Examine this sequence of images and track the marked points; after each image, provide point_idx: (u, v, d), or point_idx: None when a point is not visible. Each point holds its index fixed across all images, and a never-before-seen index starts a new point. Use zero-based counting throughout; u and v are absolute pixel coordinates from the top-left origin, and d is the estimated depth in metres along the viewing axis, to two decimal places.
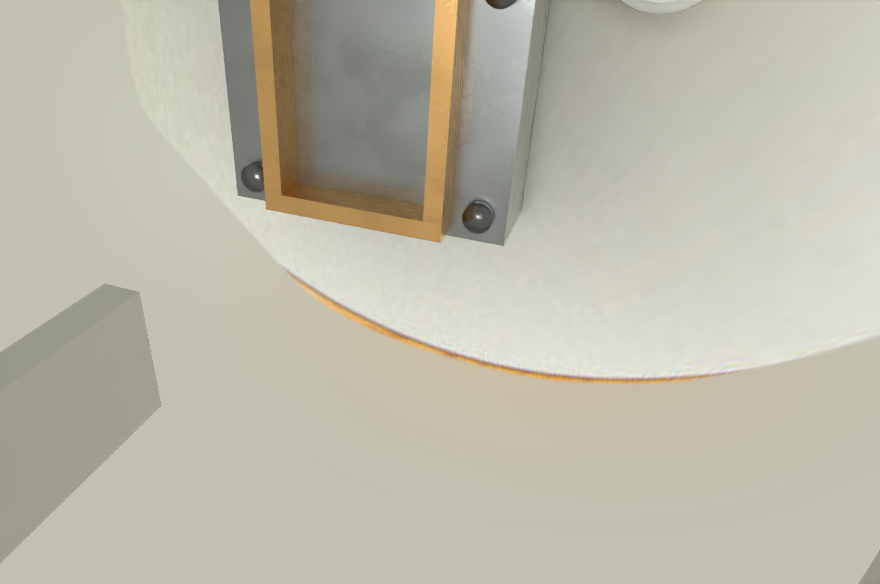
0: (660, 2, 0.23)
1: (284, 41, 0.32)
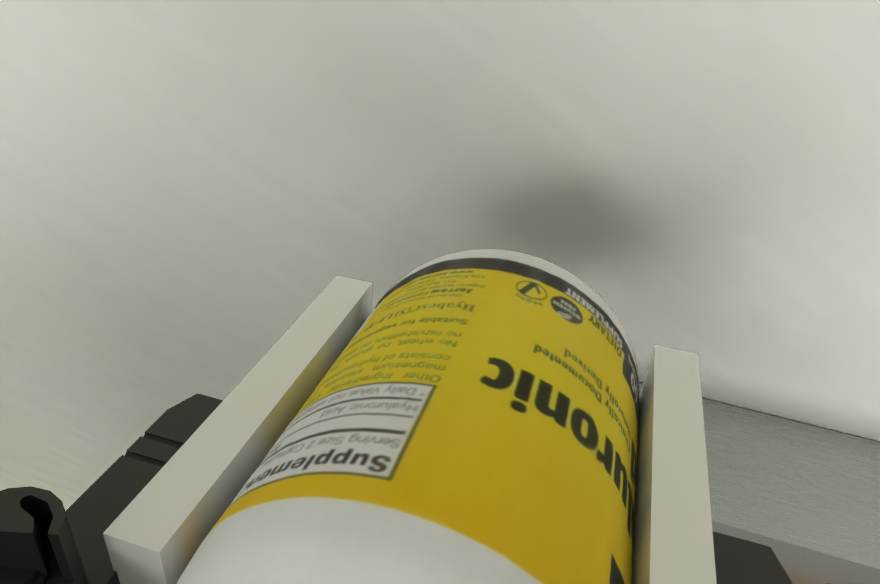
0: None
1: None
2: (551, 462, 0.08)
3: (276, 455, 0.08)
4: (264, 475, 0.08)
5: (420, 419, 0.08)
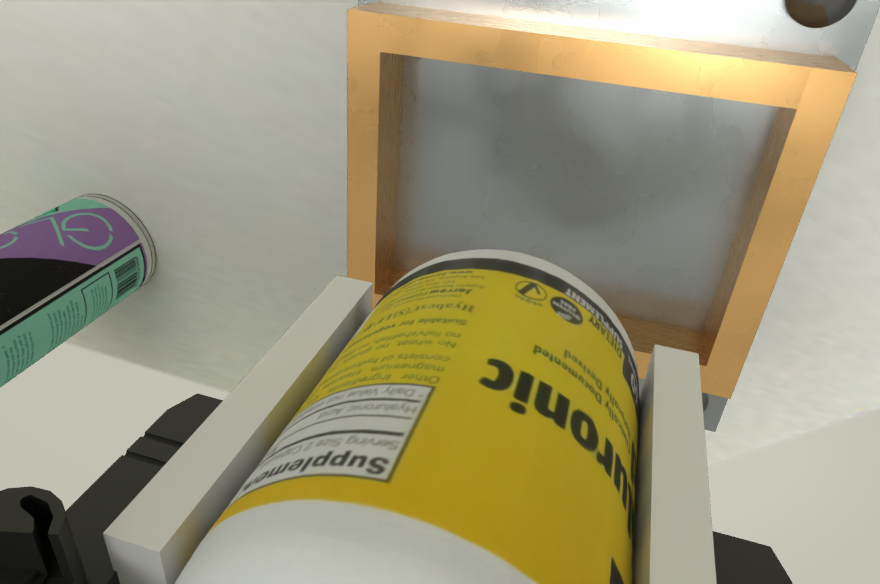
0: None
1: None
2: (550, 465, 0.08)
3: (274, 457, 0.08)
4: (262, 477, 0.08)
5: (418, 422, 0.08)
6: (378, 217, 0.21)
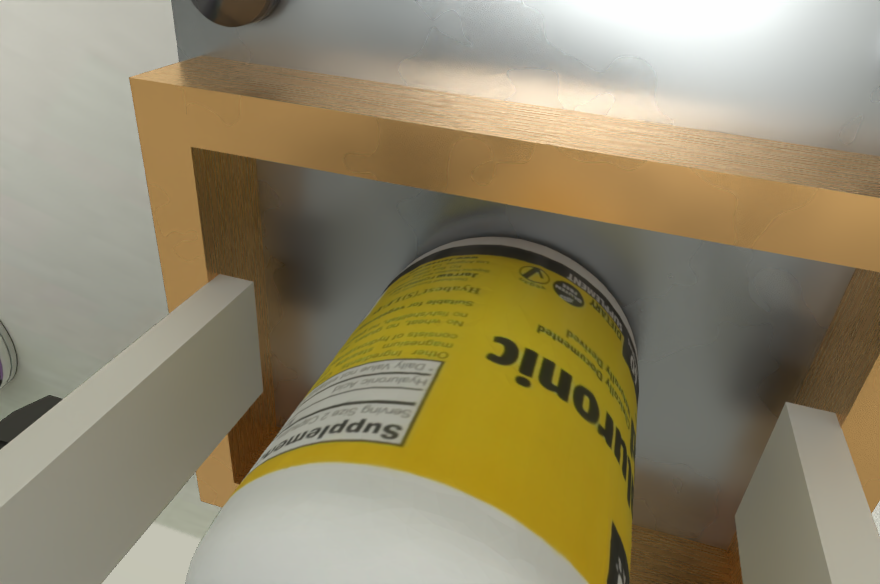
0: None
1: None
2: (554, 433, 0.08)
3: (291, 427, 0.08)
4: (281, 446, 0.08)
5: (429, 392, 0.08)
6: None
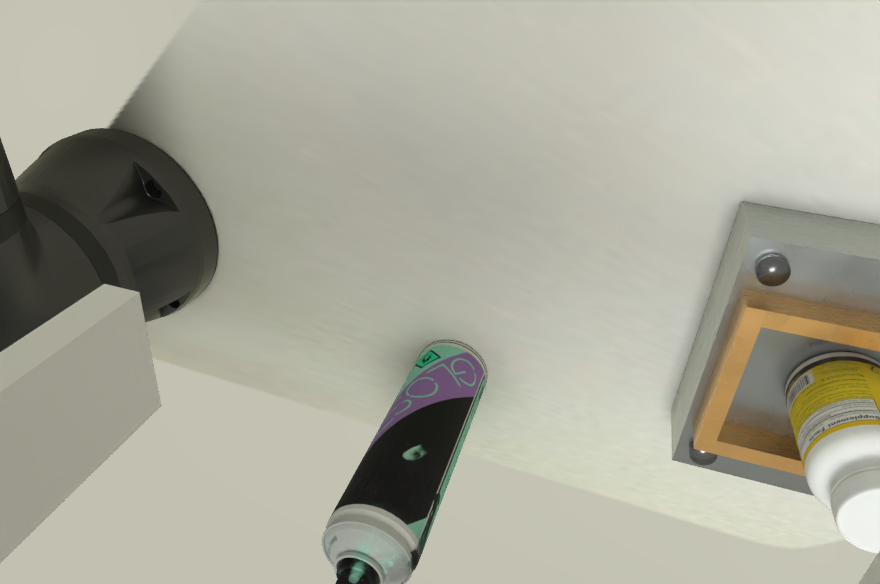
0: None
1: (773, 441, 0.38)
2: None
3: (835, 417, 0.31)
4: (838, 421, 0.31)
5: (878, 408, 0.31)
6: (730, 401, 0.37)
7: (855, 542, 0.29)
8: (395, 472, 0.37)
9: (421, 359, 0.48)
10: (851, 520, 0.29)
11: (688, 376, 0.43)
